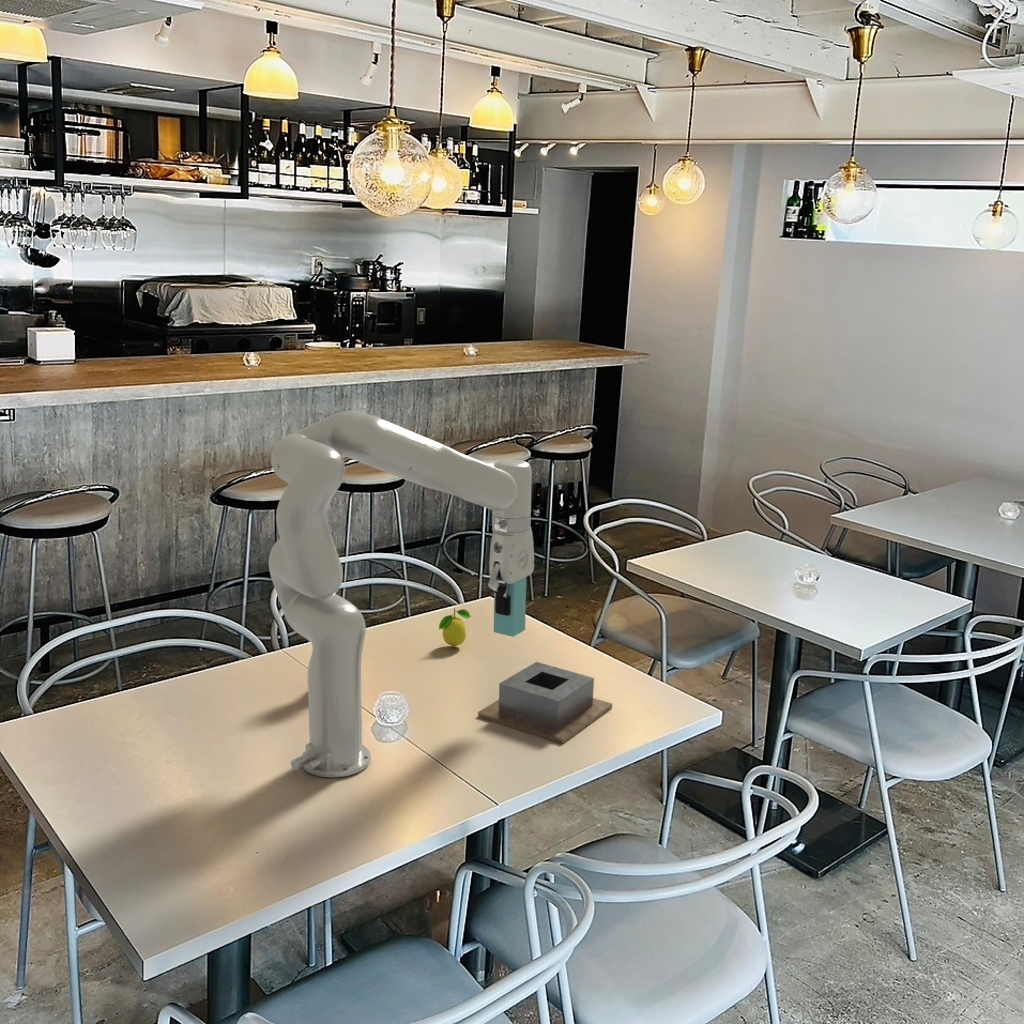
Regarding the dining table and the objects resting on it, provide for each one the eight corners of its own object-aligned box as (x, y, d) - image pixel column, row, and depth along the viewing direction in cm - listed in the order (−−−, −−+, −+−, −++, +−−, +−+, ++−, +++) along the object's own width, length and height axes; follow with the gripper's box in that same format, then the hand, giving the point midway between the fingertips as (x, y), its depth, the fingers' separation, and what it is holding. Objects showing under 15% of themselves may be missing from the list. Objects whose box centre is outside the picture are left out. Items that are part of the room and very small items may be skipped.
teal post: (513, 636, 211) (514, 579, 208) (493, 632, 213) (494, 575, 210) (525, 629, 215) (526, 573, 212) (505, 625, 217) (506, 569, 214)
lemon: (470, 643, 253) (470, 603, 250) (466, 652, 247) (467, 612, 245) (442, 641, 254) (442, 602, 251) (438, 650, 248) (438, 610, 245)
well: (562, 744, 204) (564, 710, 203) (478, 716, 215) (478, 684, 213) (612, 708, 220) (613, 676, 219) (531, 684, 231) (532, 654, 229)
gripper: (504, 536, 199) (502, 627, 204) (549, 516, 213) (547, 602, 218) (471, 529, 203) (470, 619, 208) (518, 510, 217) (516, 595, 222)
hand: (510, 609), depth 213 cm, fingers closed on teal post, 4 cm apart
